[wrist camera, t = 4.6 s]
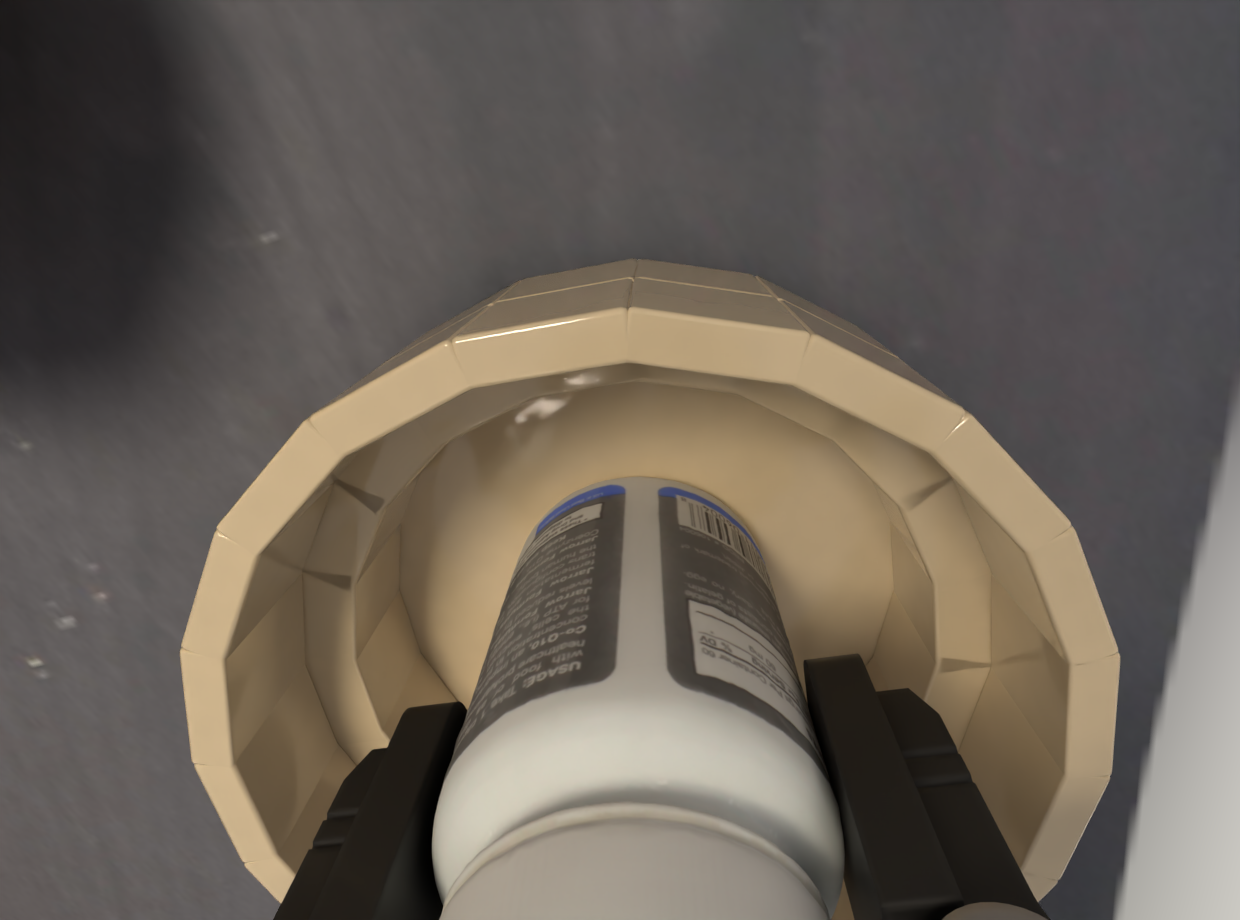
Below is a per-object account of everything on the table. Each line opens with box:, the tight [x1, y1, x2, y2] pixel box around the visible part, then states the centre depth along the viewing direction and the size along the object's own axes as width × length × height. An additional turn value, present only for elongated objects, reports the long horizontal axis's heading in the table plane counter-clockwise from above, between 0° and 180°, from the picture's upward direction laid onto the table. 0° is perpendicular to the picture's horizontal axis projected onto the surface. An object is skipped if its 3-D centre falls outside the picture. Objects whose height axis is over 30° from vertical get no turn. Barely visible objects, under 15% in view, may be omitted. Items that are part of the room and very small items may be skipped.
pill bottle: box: [432, 476, 845, 920], centre depth 10 cm, size 5×5×8 cm
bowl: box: [180, 258, 1120, 920], centre depth 12 cm, size 12×12×5 cm
